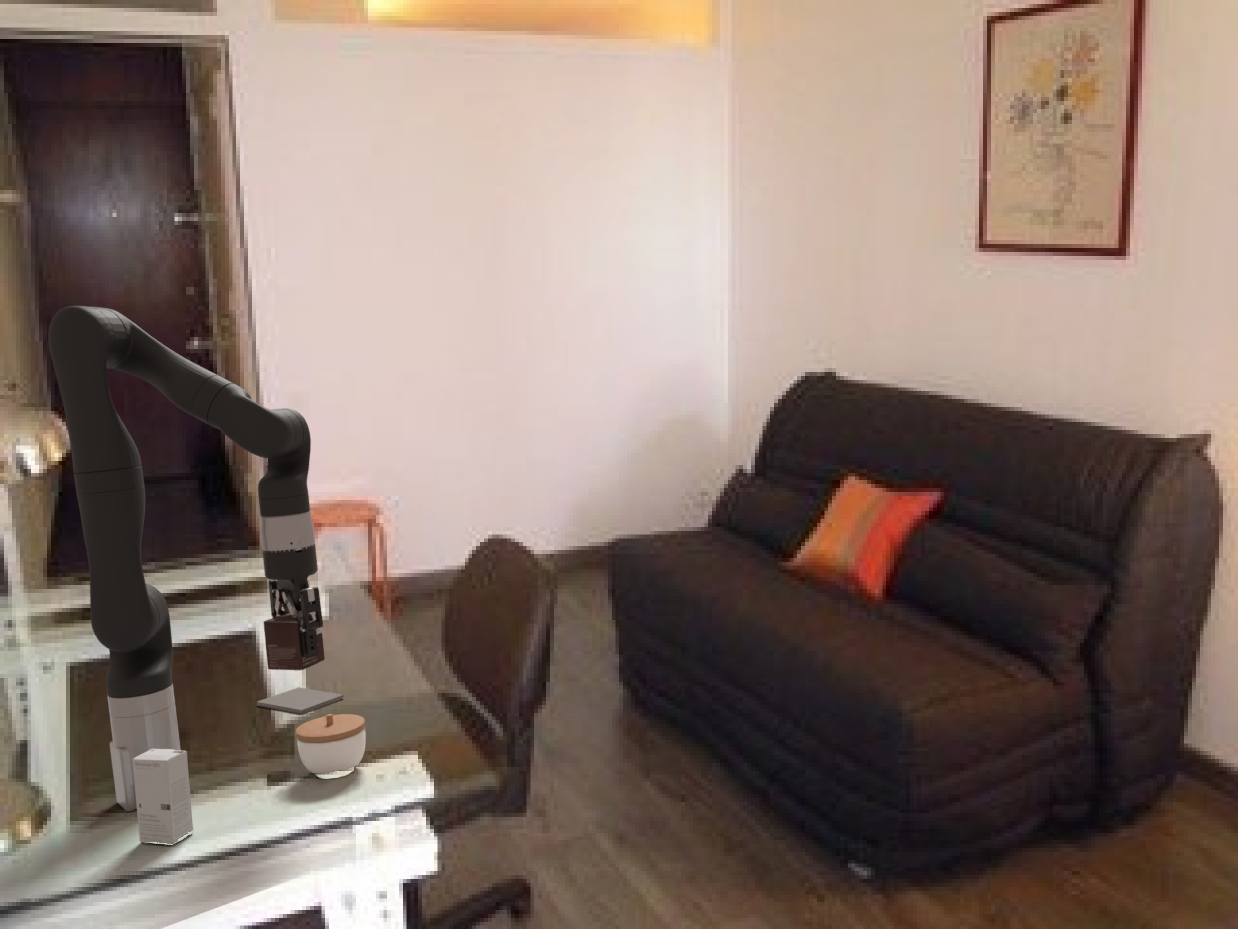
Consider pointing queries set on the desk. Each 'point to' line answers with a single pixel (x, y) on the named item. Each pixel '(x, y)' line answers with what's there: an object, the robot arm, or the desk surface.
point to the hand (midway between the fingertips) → (299, 652)
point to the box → (288, 644)
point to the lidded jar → (331, 742)
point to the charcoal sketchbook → (300, 700)
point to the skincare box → (162, 795)
